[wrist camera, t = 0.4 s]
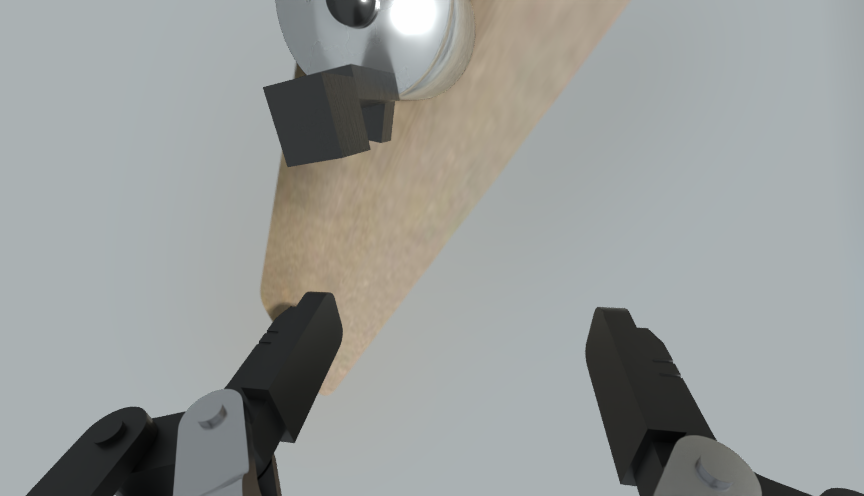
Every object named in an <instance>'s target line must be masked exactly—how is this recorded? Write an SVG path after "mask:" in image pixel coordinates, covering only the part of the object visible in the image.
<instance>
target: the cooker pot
mask: <svg viewBox="0 0 864 496" xmlns="http://www.w3.org/2000/svg"><path fill="white" fill-rule="evenodd" d="M475 31H476V26H475V16H474V12H473V8H472V5H471V2H470V0H454V8H453V15H452V23H451V27H450V31H449V35H448V38H447V41H446V43H445V46H444V49H443V51H442V53H441V55H440V57H439V59H438V61H437V62H436V64H435V65H434V67H433V68H432V70H431V71H430V72H429V74H428V75H427V76H426V77H425V78H424V79H423V80H422V81H421V82H420V83H419V84H418V85H417V86H416V87H415V88H413V89H412V90H410V91H409V92H407V93H406V94H404V95H402V96H400V97H399V98H400V100H425V99H430V98H433V97H436V96H438V95H440V94H442V93H444V92H445V91H447V90H448V89H449V88H451V87H452V86H453V85H454V84H455V83H456V82H457V81H458V79H459V78H460V77H461V75H462V74H463V72H464V71H465V69H466V67H467V65H468V63H469V61H470V58H471V55H472V52H473V48H474V43H475ZM394 105H395V101H394V102H389V103H385V104H380V105H375V106H371V107H366V108H362V109H361V110H362V115H363V119H364V123H365V128H366V132H367V136H368V140H370V141H375V142H379V143H383V142H387V141H391V133H392V124H393V115H394Z"/></svg>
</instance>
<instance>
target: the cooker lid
mask: <svg viewBox="0 0 864 496" xmlns="http://www.w3.org/2000/svg"><path fill="white" fill-rule="evenodd" d="M275 1H276V8H277V14H278V19H279V23H280V27H281V30H282V33H283V36H284V38H285V41H286V43H287V45H288V48H289V50H290V52H291V53H292V55H293V57H294V59H295V60H296V62H297V63H298V65H299V66H300V67H301V69H302V70H303V71H304V73H305V74H306V76H302V77H299V78H297V79H293V80H289V81H285V82H282V83H278V84H274V85H270V86H266V87H263V89H264V93H265V96H266V99H267V102H268V105H269V109H270V112H271V115H272V118H273V121H274V125H275V128H276V131H277V134H278V137H279V141H280V144H281V147H282V150H283V154H284V157H285V160H286V163H287V166H288V167H291V166H297V165H303V164H308V163H314V162H320V161H326V160H332V159H338V158H343V157H347V156H350V155H354V154H357V153H361V152H365V151H368V150H370V145H369V141H368V136H367V132H366V128H365V123H364V119H363V115H362V110H361V109H362V108H366V107H371V106H375V105H380V104H385V103H389V102H394V101H399V100H400V98H399V97H400V96H402V95H404V94H406V93H407V92H409V91H410V90H412V89H413V88H415V87H416V86H417V85H418V84H419V83H420V82H421V81H422V80H423V79H424V78H425V77H426V76H427V75H428V74H429V72H430V71H431V70H432V68H433V67H434V65H435V64H436V62H437V61H438V59H439V57H440V55H441V53H442V51H443V49H444V46H445V43H446V41H447V38H448V35H449V31H450V27H451V23H452V15H453V8H454V0H275Z"/></svg>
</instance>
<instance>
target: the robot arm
mask: <svg viewBox="0 0 864 496" xmlns="http://www.w3.org/2000/svg"><path fill="white" fill-rule="evenodd" d="M342 335H343V328H342V324H341V320H340V316H339V313H338V309H337V305H336V301H335V298H334V295H333V294H332V293H328V292H307V293H305V295H304V296H303V297H302V299H301V300H300V302H299V303H298V305H297V306H296V307H290V308H288V309H287V310H286V311H284V312H283V313H282V314H280V315H279V316H278V317H277V318H276V319H275V320H274V322H273V323H272V324H271V326H270V327H269V328H268V330H267V333H265V334H264V335H263V337H262V338H261V340H260V341H259V344H257V345H256V346H255V348H254V349H253V350H252V352H251V353H250V355H249V356H248V357H247V359H246V360H245V361H244V363H243V364H242V365H241V367H240V368H239V370H238V371H237V372H236V374H235V375H234V377H233V378H232V380H231V381H230V382H229V383H228V385H227V386H226V387H225V388H224V389H221V390H217V391H214V392H211V393H209V394H207V395H205V396H204V397H202V398H200V399H199V400H198V401H196V402H195V403H194V404H193V405H191V406H190V408H189V409H188V410H187V411H186V412H181V413H176V414H171V415H167V416H162V417H157V418H152V419H151V417H150V416H149V415H148V414H147V413H146V411H145V410H143V409H142V408H140V407H127V408H123V409H119V410H117V411H115V412H112V413H111V414H108V415H107V416H105V417H103V418H102V419H100V420H99V421H97V422H96V423H95V424H93V425H92V426H91V427H90V428H89V429H88V430H87V431H86V432H85V433H84V434H83V435H82V436H81V437H80V438H79V439H78V440H77V441H76V442H75V444H73V446H72V447H71V448H70V449H69V450H68V451H67V452H66V453H65V454H64V455H63V456H62V457H61V458H60V459H59V461H58V462H57V463H56V464H55V465H54V466H53V467H52V468H51V469H50V470H49V471H48V472H47V473H46V475H44V477H43V478H42V479H41V480H40V481H39V482H38V483H37V484H36V485H35V486H34V487H33V488H32V489H31V491H30V492H29V493H28V494H27V495H26V496H114V495H116V496H282V494H281V488H280V481H279V476H278V469H277V463H276V458H275V455H274V452H275V450H276V448H277V446H278V444H279V442H280V441H281V442H290V443H295V441H296V439H297V437H298V434H299V433H300V430H301V428H302V426H303V424H304V422H305V420H306V418H307V415H308V413H309V411H310V409H311V407H312V405H313V403H314V401H315V398H316V396H317V394H318V392H319V390H320V388H321V386H322V383H323V381H324V379H325V377H326V375H327V373H328V371H329V368H330V366H331V364H332V362H333V360H334V358H335V356H336V353H337V351H338V349H339V347H340V345H341V341H342ZM585 352H586V363H587V367H588V370H589V374H590V378H591V381H592V385H593V388H594V392H595V396H596V399H597V402H598V406H599V410H600V413H601V417H602V421H603V424H604V428H605V431H606V435H607V438H608V442H609V445H610V449H611V452H612V456H613V459H614V463H615V466H616V470H617V474H618V477H619V481H620V484H623V485H632V486H637V489H638V492H639V495H640V496H812V495H809V494H807V493H804V492H801V491H799V490H796V489H794V488H791V487H788V486H786V485H783V484H780V483H778V482H775V481H773V480H770V479H768V478H765V477H763V476H761V475H759V474H756V473H755V472H753V471H752V469H751V468H750V467H749V465H748V464H747V463H746V462H745V461H744V460H743V459H742V458H741V457H740V456H739V455H738V454H737V453H735V452H734V451H733V450H731V449H730V448H728V447H727V446H725V445H724V444H722V443H720V442H717V440H716V438H715V437H714V435H713V433H712V432H711V430H710V428H709V426H708V424H707V422H706V421H705V419H704V417H703V415H702V413H701V411H700V409H699V408H698V406H697V404H696V402H695V400H694V398H693V397H692V395H691V393H690V391H689V389H688V388H687V385H686V384H685V382H684V380H683V378H681V377H680V373H679V371H678V369H677V367H676V365H675V364H673V360H672V358H671V356H670V354H669V352H668V350H667V349H666V347H665V345H664V343H663V342H662V341H661V340H660V339H658V338H657V337H656V336H655V335H654V334H653V333H652V332H651V331H650V330H649V329H648V328H637V327H636V325H635V323H634V321H633V319H632V317H631V315H630V313H629V311H628V310H627V309H625V308H606V307H597V308H596V309H595V312H594V316H593V319H592V323H591V327H590V331H589V335H588V339H587V342H586V350H585ZM820 496H864V494H862V493H859V492H856V491H853V490H849V489H843V488H831V489H828V490H826V491H825V492H824V493H822V494H821V495H820Z"/></svg>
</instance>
